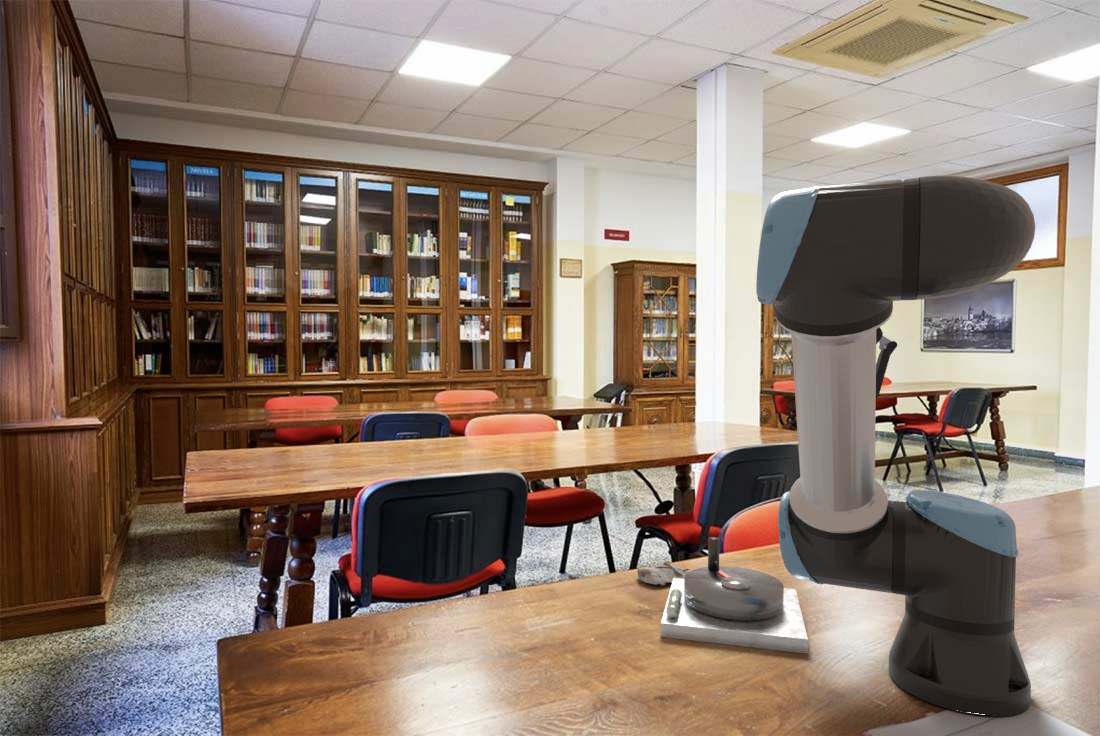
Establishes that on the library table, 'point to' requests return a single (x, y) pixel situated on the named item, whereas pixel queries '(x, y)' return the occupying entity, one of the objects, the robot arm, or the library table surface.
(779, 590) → the crank handle wheel
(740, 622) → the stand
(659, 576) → the stone
